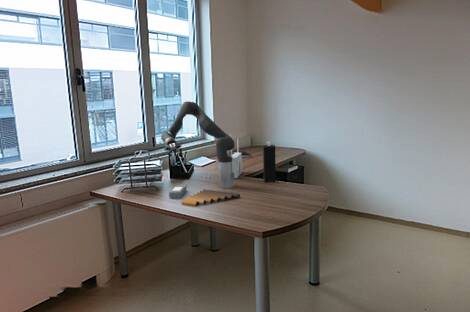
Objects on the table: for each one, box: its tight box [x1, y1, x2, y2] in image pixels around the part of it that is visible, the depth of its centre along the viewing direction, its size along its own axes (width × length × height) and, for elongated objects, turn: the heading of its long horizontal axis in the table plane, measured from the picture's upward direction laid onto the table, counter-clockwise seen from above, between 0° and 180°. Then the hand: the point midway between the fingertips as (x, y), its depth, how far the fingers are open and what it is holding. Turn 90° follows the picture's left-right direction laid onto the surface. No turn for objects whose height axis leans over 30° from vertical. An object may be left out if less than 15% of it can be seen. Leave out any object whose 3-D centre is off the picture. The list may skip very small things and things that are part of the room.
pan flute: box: [180, 189, 241, 207], centre depth 210 cm, size 25×3×25 cm
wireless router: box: [227, 133, 252, 159], centre depth 345 cm, size 34×23×20 cm
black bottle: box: [262, 140, 277, 183], centre depth 248 cm, size 8×8×28 cm
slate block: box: [168, 184, 188, 199], centre depth 226 cm, size 4×7×16 cm
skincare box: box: [231, 153, 243, 179], centre depth 269 cm, size 21×5×16 cm, turn 168°
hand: (174, 150), depth 240 cm, fingers closed
